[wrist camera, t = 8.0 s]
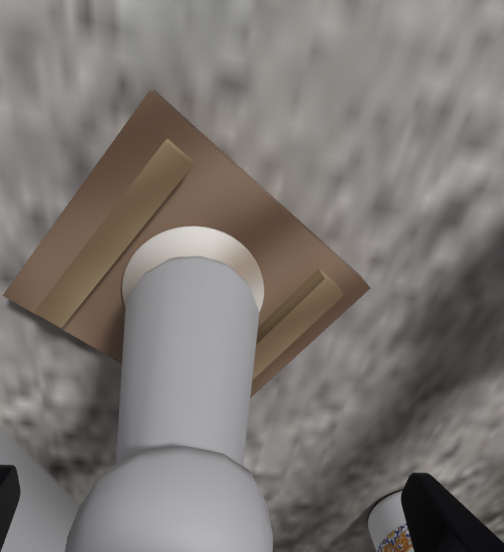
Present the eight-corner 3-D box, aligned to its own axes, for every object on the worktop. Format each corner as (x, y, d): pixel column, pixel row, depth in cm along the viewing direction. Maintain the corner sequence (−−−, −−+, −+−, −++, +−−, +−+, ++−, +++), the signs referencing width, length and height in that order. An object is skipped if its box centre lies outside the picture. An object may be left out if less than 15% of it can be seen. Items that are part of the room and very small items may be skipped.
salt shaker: (213, 357, 20) (213, 704, 9) (115, 310, 19) (-49, 669, 7) (276, 276, 19) (380, 576, 7) (174, 215, 17) (84, 483, 5)
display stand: (360, 276, 21) (379, 299, 19) (223, 403, 24) (224, 437, 22) (155, 90, 16) (144, 89, 14) (17, 281, 19) (-11, 308, 17)
